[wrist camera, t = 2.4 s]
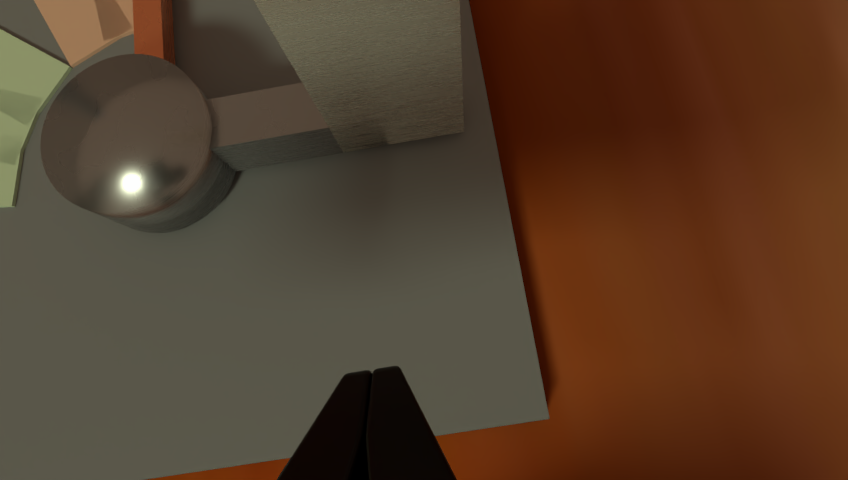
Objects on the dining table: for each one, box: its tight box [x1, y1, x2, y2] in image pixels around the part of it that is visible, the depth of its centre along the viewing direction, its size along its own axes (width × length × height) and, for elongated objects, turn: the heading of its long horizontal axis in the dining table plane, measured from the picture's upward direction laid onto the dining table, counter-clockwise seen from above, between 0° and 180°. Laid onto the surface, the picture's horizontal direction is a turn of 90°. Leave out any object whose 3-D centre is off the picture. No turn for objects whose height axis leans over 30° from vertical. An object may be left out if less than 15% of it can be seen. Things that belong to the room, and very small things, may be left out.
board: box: [0, 0, 549, 480], centre depth 20 cm, size 22×22×1 cm
